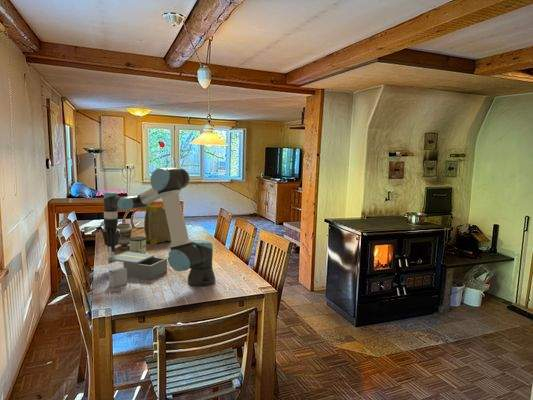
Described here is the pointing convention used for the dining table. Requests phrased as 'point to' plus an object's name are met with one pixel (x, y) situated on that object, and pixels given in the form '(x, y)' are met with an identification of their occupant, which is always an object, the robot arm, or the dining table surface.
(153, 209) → the decorative book
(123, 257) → the lid
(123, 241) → the apothecary jar
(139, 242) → the coffee can
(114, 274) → the medicine box
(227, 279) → the dining table surface
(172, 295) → the dining table surface
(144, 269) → the crate
